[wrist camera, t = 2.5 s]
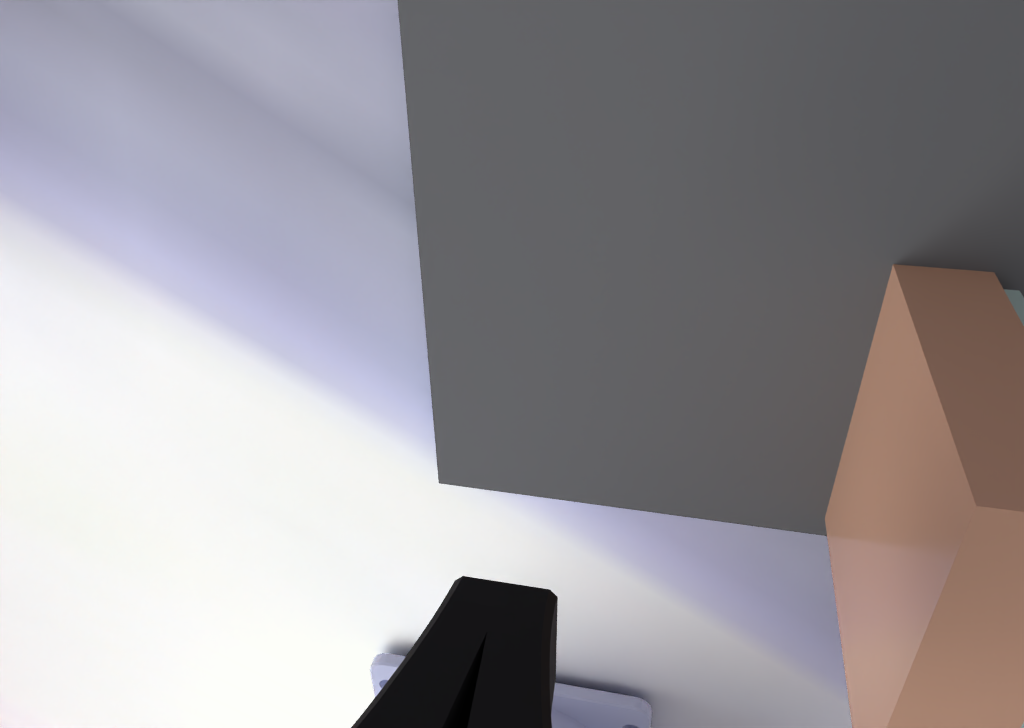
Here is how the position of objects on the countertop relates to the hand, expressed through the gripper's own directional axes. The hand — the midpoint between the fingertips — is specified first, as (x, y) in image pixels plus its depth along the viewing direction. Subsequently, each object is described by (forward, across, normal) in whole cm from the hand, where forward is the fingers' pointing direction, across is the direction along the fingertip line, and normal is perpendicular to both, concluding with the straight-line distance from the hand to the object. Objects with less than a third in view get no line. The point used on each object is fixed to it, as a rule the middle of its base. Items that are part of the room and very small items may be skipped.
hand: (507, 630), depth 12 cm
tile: (+6, -6, 0) cm, 9 cm away
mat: (+7, -5, -2) cm, 9 cm away
